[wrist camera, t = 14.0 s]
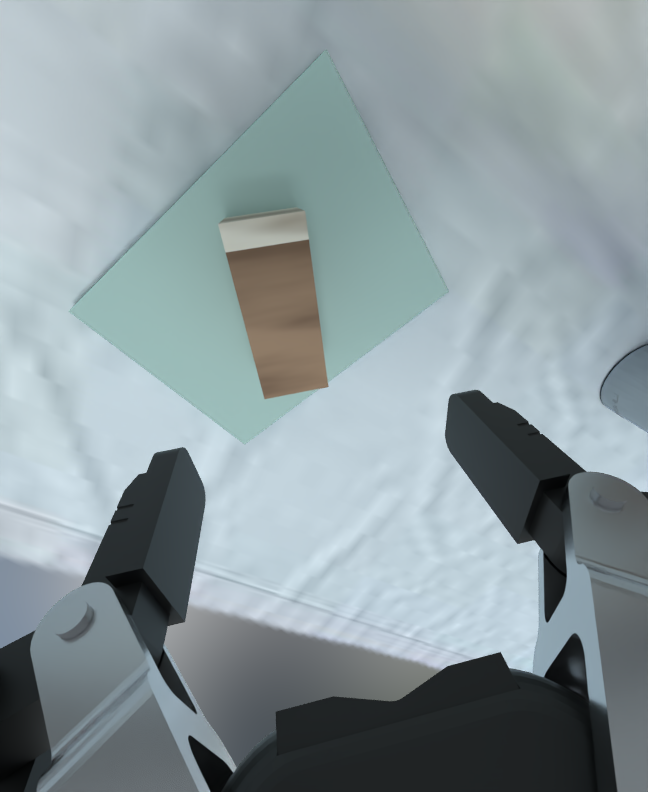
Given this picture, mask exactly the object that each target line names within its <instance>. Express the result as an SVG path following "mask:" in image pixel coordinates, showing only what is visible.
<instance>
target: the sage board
mask: <svg viewBox="0 0 648 792" xmlns="http://www.w3.org/2000/svg"><path fill="white" fill-rule="evenodd" d="M294 207H297V208H300V209H302V210H304V211H305V213H306V221H307V229H308V236H309V244H310V251H311V259H312V266H313V274H314V282H315V289H316V297H317V304H318V312H319V319H320V327H321V335H322V342H323V350H324V357H325V365H326V372H327V380H328V382H329V381H330V380H332V379H333V378H334V377H336V376H337V375H338V374H340V373H341V372H342V371H344V370H345V369H346V368H348V367H349V366H350V365H352V364H353V363H354V362H356V361H357V360H358V359H360V358H361V357H362V356H364V355H365V354H366V353H368V352H369V351H370V350H372V349H373V348H374V347H376V346H377V345H378V344H380V343H381V342H382V341H384V340H385V339H386V338H388V337H389V336H390V335H392V334H393V333H394V332H396V331H397V330H398V329H400V328H401V327H402V326H404V325H405V324H406V323H408V322H409V321H410V320H412V319H413V318H414V317H416V316H417V315H418V314H420V313H421V312H422V311H424V310H425V309H426V308H428V307H429V306H430V305H432V304H433V303H434V302H436V301H437V300H438V299H440V298H441V297H442V296H444V295H445V294H446V293H448V292H449V291H448V289H447V287H446V285H445V283H444V281H443V279H442V277H441V275H440V273H439V271H438V269H437V267H436V265H435V263H434V261H433V259H432V257H431V255H430V253H429V251H428V249H427V247H426V245H425V243H424V241H423V239H422V237H421V236H420V234H419V232H418V230H417V228H416V226H415V224H414V222H413V220H412V218H411V216H410V214H409V212H408V210H407V208H406V206H405V204H404V202H403V200H402V198H401V196H400V194H399V192H398V190H397V188H396V186H395V184H394V182H393V180H392V178H391V176H390V174H389V172H388V170H387V168H386V166H385V164H384V162H383V160H382V158H381V156H380V154H379V152H378V151H377V149H376V147H375V145H374V143H373V141H372V139H371V137H370V135H369V133H368V131H367V129H366V127H365V125H364V123H363V121H362V119H361V117H360V115H359V113H358V111H357V109H356V107H355V105H354V103H353V101H352V99H351V97H350V95H349V93H348V91H347V89H346V87H345V85H344V83H343V81H342V79H341V77H340V75H339V73H338V71H337V69H336V68H335V66H334V64H333V62H332V60H331V58H330V56H329V54H328V52H327V50H325V51H324V52H323V53H322V54H321V55H320V56H319V57H318V58H317V59H316V60H315V61H314V62H313V63H312V64H311V65H310V66H309V67H308V68H307V69H306V70H305V71H304V72H303V73H302V74H301V75H300V76H299V77H298V78H297V79H296V80H295V81H294V82H293V83H292V85H291V86H290V87H289V88H288V89H287V90H286V91H285V92H284V93H283V94H282V95H281V96H280V97H279V98H278V99H277V100H276V101H275V102H274V103H273V104H272V105H271V106H270V107H269V108H268V109H267V110H266V111H265V112H264V113H263V114H262V115H261V116H260V117H259V118H258V119H257V120H256V121H255V122H254V123H253V124H252V125H251V126H250V127H249V128H248V129H247V130H246V131H245V132H244V133H243V134H242V135H241V136H240V137H239V138H238V139H237V140H236V141H235V142H234V144H233V145H232V146H231V147H230V148H229V149H228V150H227V151H226V152H225V153H224V154H223V155H222V156H221V157H220V158H219V159H218V160H217V161H216V162H215V163H214V164H213V165H212V166H211V167H210V168H209V169H208V170H207V171H206V172H205V173H204V174H203V175H202V176H201V177H200V178H199V179H198V180H197V181H196V182H195V183H194V184H193V185H192V186H191V187H190V188H189V189H188V190H187V191H186V192H185V193H184V194H183V195H182V196H181V197H180V198H179V199H178V200H177V202H176V203H175V204H174V205H173V206H172V207H171V208H170V209H169V210H168V211H167V212H166V213H165V214H164V215H163V216H162V217H161V218H160V219H159V220H158V221H157V222H156V223H155V224H154V225H153V226H152V227H151V228H150V229H149V230H148V231H147V232H146V233H145V234H144V235H143V236H142V237H141V238H140V239H139V240H138V241H137V242H136V243H135V244H134V245H133V246H132V247H131V248H130V249H129V250H128V251H127V252H126V253H125V254H124V255H123V256H122V257H121V258H120V260H119V261H118V262H117V263H116V264H115V265H114V266H113V267H112V268H111V269H110V270H109V271H108V272H107V273H106V274H105V275H104V276H103V277H102V278H101V279H100V280H99V281H98V282H97V283H96V284H95V285H94V286H93V287H92V288H91V289H90V290H89V291H88V292H87V293H86V294H85V295H84V296H83V297H82V298H81V299H80V300H79V301H78V302H77V303H76V304H75V305H74V306H73V307H72V308H71V309H70V310H69V312H70V313H71V314H73V315H74V316H75V317H77V318H78V319H79V320H81V321H82V322H83V323H84V324H86V325H87V326H88V327H90V328H91V329H92V330H94V331H95V332H96V333H98V334H99V335H100V336H102V337H103V338H104V339H106V340H107V341H108V342H110V343H111V344H112V345H114V346H115V347H116V348H118V349H119V350H120V351H122V352H123V353H124V354H126V355H127V356H128V357H129V358H131V359H132V360H133V361H135V362H136V363H137V364H139V365H140V366H141V367H143V368H144V369H145V370H147V371H148V372H149V373H151V374H152V375H153V376H155V377H156V378H157V379H159V380H160V381H161V382H163V383H164V384H165V385H167V386H168V387H169V388H171V389H172V390H173V391H175V392H176V393H177V394H178V395H180V396H181V397H182V398H184V399H185V400H186V401H188V402H189V403H190V404H192V405H193V406H194V407H196V408H197V409H198V410H200V411H201V412H202V413H204V414H205V415H206V416H208V417H209V418H210V419H212V420H213V421H214V422H216V423H217V424H218V425H220V426H221V427H222V428H223V429H225V430H226V431H227V432H229V433H230V434H231V435H233V436H234V437H235V438H237V439H238V440H239V441H241V442H242V443H243V444H246V443H248V442H249V441H250V440H252V439H253V438H254V437H256V436H257V435H258V434H260V433H261V432H262V431H264V430H265V429H266V428H268V427H269V426H270V425H272V424H273V423H274V422H276V421H277V420H278V419H280V418H281V417H282V416H284V415H285V414H286V413H288V412H289V411H290V410H292V409H293V408H294V407H296V406H297V405H298V404H300V403H301V402H302V401H304V400H305V399H306V398H308V397H309V396H310V395H312V394H313V393H314V392H316V391H317V390H318V389H315V390H310V391H305V392H300V393H295V394H289V395H284V396H279V397H274V398H269V399H264V396H263V392H262V388H261V384H260V380H259V377H258V373H257V369H256V365H255V362H254V358H253V354H252V350H251V347H250V343H249V339H248V335H247V332H246V328H245V324H244V320H243V317H242V313H241V309H240V305H239V302H238V298H237V294H236V290H235V286H234V283H233V279H232V275H231V271H230V268H229V264H228V260H227V256H226V253H225V249H224V245H223V241H222V238H221V234H220V230H219V226H218V224H219V223H220V222H221V221H222V220H223V219H224V218H227V217H233V216H240V215H247V214H253V213H260V212H267V211H274V210H280V209H287V208H294Z"/></svg>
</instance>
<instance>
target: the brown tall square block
mask: <svg viewBox="0 0 648 792" xmlns="http://www.w3.org/2000/svg"><path fill="white" fill-rule="evenodd" d="M218 226H219V230H220V234H221V238H222V241H223V245H224V249H225V253H226V256H227V260H228V264H229V268H230V271H231V275H232V279H233V283H234V286H235V290H236V294H237V298H238V302H239V305H240V309H241V313H242V317H243V320H244V324H245V328H246V332H247V335H248V339H249V343H250V347H251V350H252V354H253V358H254V362H255V365H256V369H257V373H258V377H259V380H260V384H261V388H262V392H263V396H264V399H269V398H274V397H279V396H284V395H289V394H295V393H300V392H305V391H310V390H315V389H320V388H325V387H328V380H327V372H326V365H325V357H324V350H323V342H322V335H321V327H320V319H319V312H318V304H317V297H316V289H315V282H314V274H313V266H312V259H311V251H310V244H309V236H308V229H307V221H306V213H305V211H304V210H302V209H300V208H297V207H294V208H287V209H280V210H274V211H267V212H260V213H253V214H247V215H240V216H233V217H227V218H224V219H223V220H222V221H221V222H220V223H219V224H218Z"/></svg>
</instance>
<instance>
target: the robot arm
mask: <svg viewBox="0 0 648 792" xmlns="http://www.w3.org/2000/svg"><path fill="white" fill-rule="evenodd" d="M601 400H602V403H603V404H604V405H605V406H606V407H607V408H609V409H610V410H612V411H614V412H615V413H616V414H618V415H619V416H621V417H623V418H625V419H626V420H628V421H630V422H631V423H633V424H635V425H636V426H638V427H639V428H641V429H642V430H644V431H646V432H647V433H648V345H646V346H644V347H641V348H639V349H637V350H636V351H634V352H632V353H631V354H629V355H628V356H627V357H626V358H624V359H623V360H622V361H621V362H620V363H619V364H618V365H617V366H616V367H615V368H614V369H613V370H612V372H611V373H610V374H609V376H608V377H607V379H606V380H605V382H604V385H603V387H602V391H601ZM539 432H540V431H538V430H537V429H536V428H535V427H534V426H533V425H531V424H530V425H529V423H528V421H527V420H526V419H524V418H523V417H522V416H521V415H520V414H519V413H517V412H516V411H515V410H513V409H511V408H509V407H506V406H504V405H502V404H500V403H498V402H497V403H493V402H492V401H490V400H489V399H488V398H487V397H486V396H485V395H484V394H483V393H482V392H480V391H479V390H472V391H467V392H462V393H457V394H452V395H451V396H450V398H449V403H448V412H447V421H446V430H445V438H446V443H447V446H448V448H449V451H450V452H451V454H452V455H453V457H454V458H455V459H456V461H457V462H458V463H459V465H460V466H461V467H462V469H463V470H464V472H465V473H466V474H467V476H468V477H469V478H470V480H471V481H472V483H473V484H474V485H475V487H476V488H477V489H478V491H479V492H480V493H481V495H482V496H483V498H484V499H485V500H486V502H487V503H488V504H489V506H490V507H491V509H492V510H493V511H494V513H495V514H496V515H497V517H498V518H499V519H500V521H501V522H502V524H503V525H504V526H505V528H506V529H507V530H508V532H509V533H510V535H511V536H512V537H513V539H514V540H515V541H516V543H517V544H520V543H524V542H528V541H532V540H535V541H536V543H537V544H538V545H539V547H540V548H541V549H540V551H539V555H538V582H539V629H538V637H537V642H536V646H535V652H534V660H533V674H532V673H529V672H525V671H521V670H516V669H511V668H509V667H508V666H507V664H506V662H505V660H504V658H503V656H502V654H501V652H500V653H496V654H492V655H488V656H484V657H481V658H477V659H473V660H469V661H466V662H462V663H458V664H454V665H451V666H447V667H446V668H444V669H443V670H442V671H440V672H439V673H437V674H436V675H434V676H433V677H432V678H430V679H429V680H427V681H426V682H424V683H423V684H422V685H420V686H419V687H418V688H416V689H415V690H413V691H412V692H410V693H409V694H408V695H406V696H405V697H403V698H402V699H400V700H397V701H390V702H389V701H378V700H366V699H356V698H344V697H330V698H326V699H322V700H319V701H315V702H311V703H307V704H303V705H300V706H296V707H292V708H288V709H285V710H281V711H277V712H276V730H274V731H273V732H271V733H270V734H268V735H267V736H266V737H265V738H264V739H263V740H262V741H260V742H259V743H258V744H257V745H256V746H255V747H254V748H253V749H252V750H251V751H250V752H249V754H248V755H247V756H246V757H245V758H244V759H243V760H242V761H241V763H240V764H239V766H238V767H236V766H235V764H234V762H233V760H232V758H231V757H230V755H229V753H228V751H227V750H226V748H225V746H224V745H223V743H222V741H221V740H220V738H219V737H218V735H217V734H216V733H215V731H214V730H213V728H212V727H211V726H210V724H209V723H208V721H207V720H206V719H205V717H204V715H203V713H202V712H201V710H200V708H199V706H198V704H197V702H196V701H195V699H194V697H193V695H192V693H191V691H190V690H189V688H188V686H187V684H186V682H185V681H184V679H183V677H182V675H181V673H180V671H179V670H178V668H177V666H176V664H175V662H174V660H173V658H172V657H171V655H170V653H169V651H168V649H167V647H166V646H165V645H164V641H165V635H166V631H167V626H170V625H174V624H178V623H183V622H185V618H186V612H187V607H188V601H189V595H190V589H191V583H192V578H193V572H194V566H195V560H196V554H197V549H198V543H199V537H200V531H201V525H202V520H203V514H204V508H205V490H204V486H203V483H202V481H201V479H200V476H199V474H198V472H197V470H196V468H195V466H194V464H193V462H192V460H191V457H190V455H189V453H188V451H187V450H186V449H185V448H183V447H182V448H177V449H172V450H167V451H162V452H157V453H155V454H154V456H153V458H152V460H151V463H150V465H149V468H148V470H147V473H144V474H139V475H138V476H137V477H136V478H135V479H134V480H133V481H132V483H131V484H130V485H129V486H128V487H127V488H126V489H125V491H124V493H123V495H122V497H121V499H120V502H119V504H118V506H117V511H115V513H114V515H113V517H112V520H111V525H109V526H108V528H107V531H106V533H105V535H104V537H103V540H102V542H101V544H100V546H99V548H98V551H97V553H96V555H95V557H94V560H93V562H92V564H91V566H90V569H89V571H88V573H87V575H86V577H85V580H84V582H83V584H82V586H81V587H79V588H77V589H75V590H73V591H71V592H70V593H68V594H67V595H66V596H64V597H63V598H62V599H61V600H59V601H58V602H57V603H56V604H55V605H54V606H53V607H52V608H51V609H50V610H49V611H48V612H47V614H46V615H45V616H44V618H43V619H42V620H41V622H40V623H39V625H38V627H37V629H36V630H35V631H33V632H32V633H30V634H28V635H26V636H24V637H22V638H20V639H18V640H16V641H14V642H12V643H10V644H8V645H7V646H5V647H3V648H1V649H0V792H648V492H640V491H639V490H638V489H636V488H635V487H634V486H632V485H631V484H629V483H627V482H625V481H624V480H621V479H619V478H617V477H614V476H611V475H608V474H604V473H599V472H586V471H585V470H584V469H583V468H581V467H580V466H579V465H578V464H577V463H576V462H574V461H573V460H572V459H571V458H570V457H569V456H567V455H566V454H565V453H564V452H563V451H562V450H560V449H559V448H558V447H557V446H556V445H555V444H554V443H552V442H551V441H550V440H549V439H548V438H547V437H545V436H544V435H543V434H540V433H539Z"/></svg>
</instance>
